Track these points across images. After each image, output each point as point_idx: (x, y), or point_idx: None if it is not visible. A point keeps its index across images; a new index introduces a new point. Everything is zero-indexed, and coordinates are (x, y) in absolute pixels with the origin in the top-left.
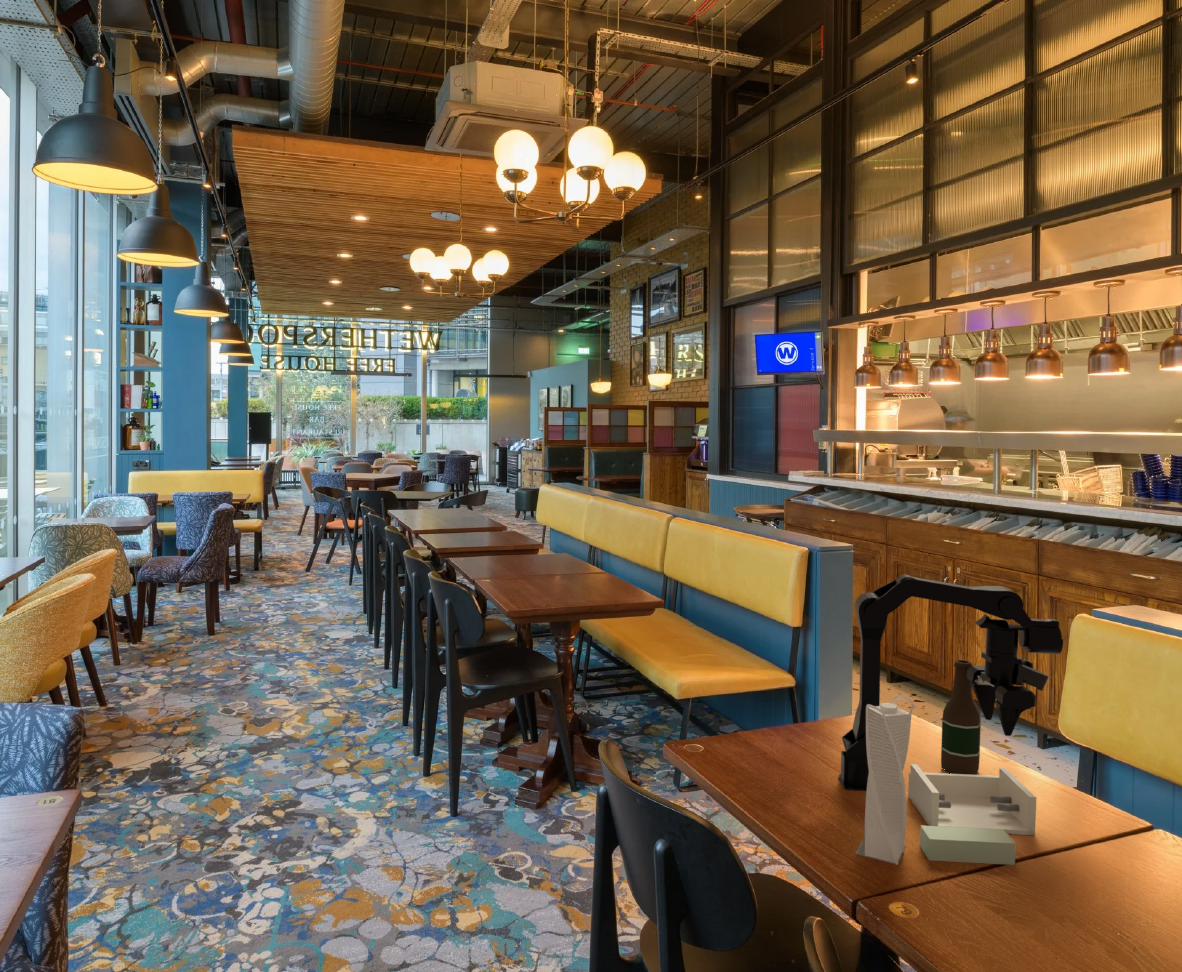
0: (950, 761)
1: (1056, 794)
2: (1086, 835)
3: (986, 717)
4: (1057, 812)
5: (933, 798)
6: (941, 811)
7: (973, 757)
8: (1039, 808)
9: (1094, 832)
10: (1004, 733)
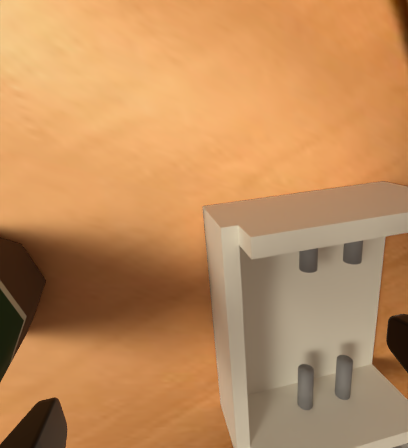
0: (22, 339)
1: (105, 2)
2: (382, 45)
3: (63, 444)
4: (254, 67)
5: None
6: (311, 355)
7: (6, 283)
8: (235, 114)
9: (367, 10)
10: (402, 356)
